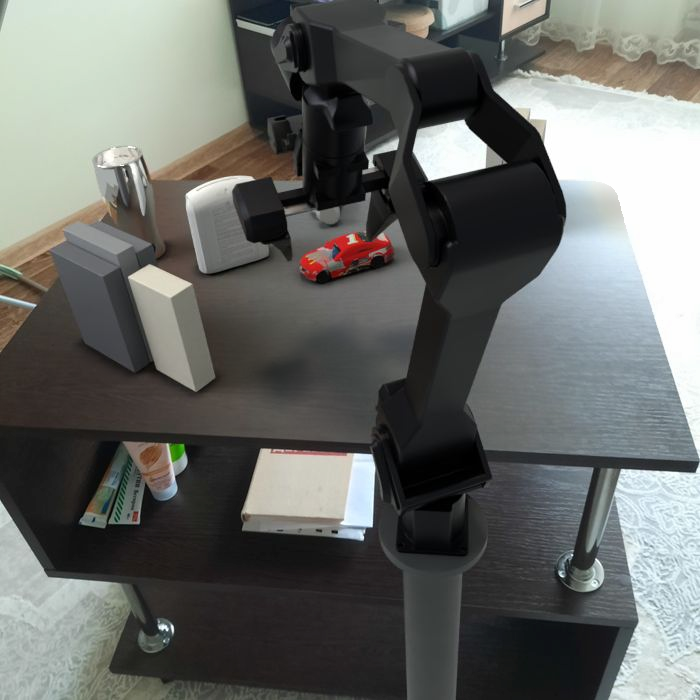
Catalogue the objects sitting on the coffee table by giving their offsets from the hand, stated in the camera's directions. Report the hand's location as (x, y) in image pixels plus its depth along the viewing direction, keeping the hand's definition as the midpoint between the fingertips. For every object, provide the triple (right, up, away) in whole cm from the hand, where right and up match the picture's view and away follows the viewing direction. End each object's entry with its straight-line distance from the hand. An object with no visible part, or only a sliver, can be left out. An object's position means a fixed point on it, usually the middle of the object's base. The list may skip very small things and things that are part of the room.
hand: (329, 248), depth 79 cm
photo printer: (-14, +1, +24) cm, 28 cm away
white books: (+26, +8, +28) cm, 39 cm away
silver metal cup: (-28, +3, +27) cm, 39 cm away
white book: (-17, -14, +6) cm, 22 cm away
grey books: (-25, -10, +11) cm, 29 cm away
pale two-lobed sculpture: (-1, +9, +33) cm, 34 cm away
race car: (+2, 0, +21) cm, 21 cm away
